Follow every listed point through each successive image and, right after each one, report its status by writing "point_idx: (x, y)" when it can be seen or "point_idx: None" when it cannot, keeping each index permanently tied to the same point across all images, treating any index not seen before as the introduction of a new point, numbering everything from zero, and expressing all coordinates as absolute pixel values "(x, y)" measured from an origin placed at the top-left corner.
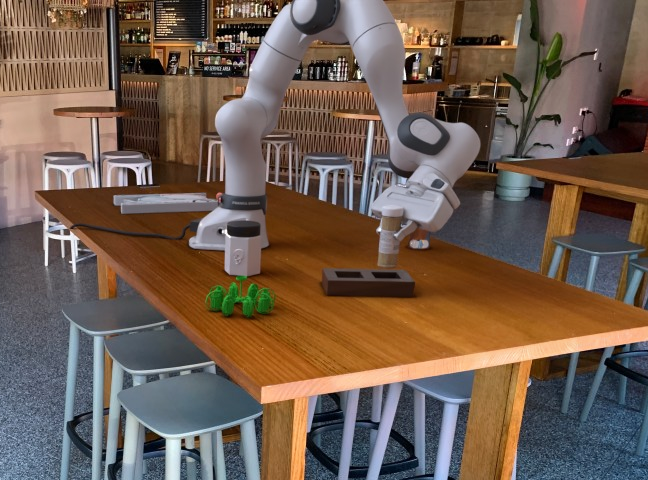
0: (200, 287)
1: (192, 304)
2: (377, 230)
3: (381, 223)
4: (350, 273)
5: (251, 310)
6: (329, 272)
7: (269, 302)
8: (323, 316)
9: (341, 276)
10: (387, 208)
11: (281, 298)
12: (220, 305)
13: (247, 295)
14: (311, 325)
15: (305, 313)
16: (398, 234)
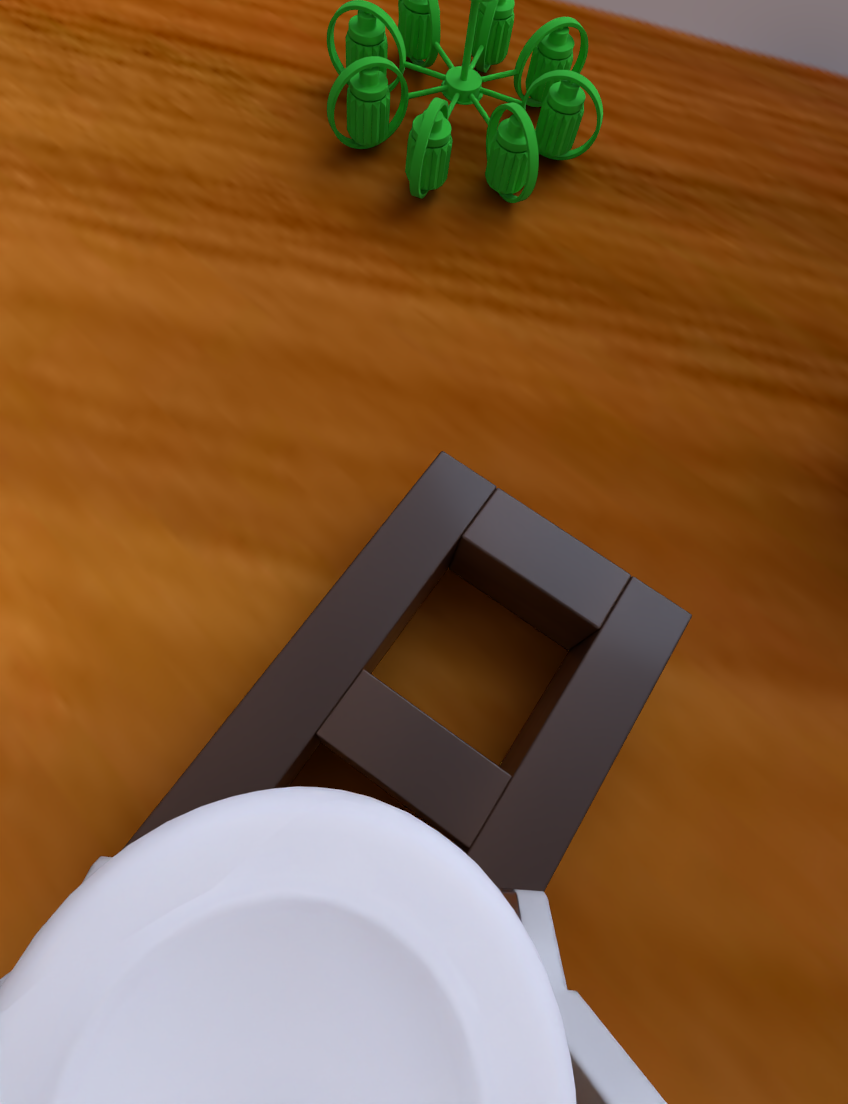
0: (783, 183)
1: (590, 60)
2: (521, 893)
3: (570, 1016)
4: (542, 720)
5: (327, 40)
6: (586, 579)
7: (409, 170)
8: (192, 273)
9: (565, 676)
10: (242, 808)
11: (503, 309)
12: (473, 45)
13: (494, 123)
14: (140, 174)
15: (272, 249)
16: (85, 880)
